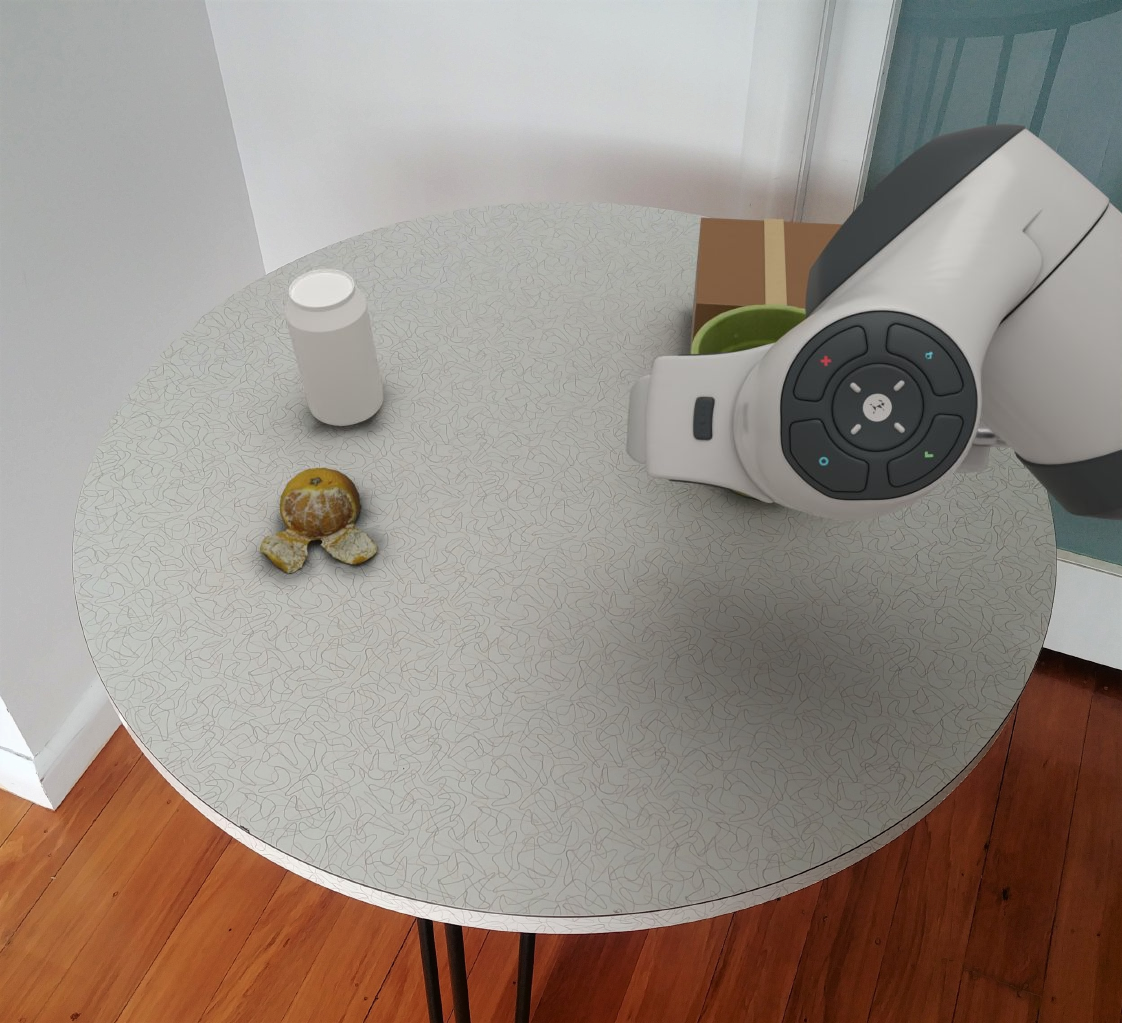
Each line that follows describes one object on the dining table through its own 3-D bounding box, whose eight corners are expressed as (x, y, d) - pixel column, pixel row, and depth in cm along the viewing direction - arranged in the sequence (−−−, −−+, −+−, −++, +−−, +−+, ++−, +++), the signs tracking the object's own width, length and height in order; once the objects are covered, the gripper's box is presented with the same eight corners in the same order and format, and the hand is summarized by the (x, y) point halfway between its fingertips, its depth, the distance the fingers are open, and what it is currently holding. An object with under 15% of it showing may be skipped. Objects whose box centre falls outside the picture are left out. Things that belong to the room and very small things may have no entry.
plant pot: (797, 404, 87) (820, 291, 79) (860, 506, 79) (892, 392, 71) (661, 430, 85) (669, 317, 77) (710, 537, 78) (725, 423, 69)
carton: (834, 412, 87) (857, 311, 79) (686, 402, 88) (696, 301, 80) (827, 322, 95) (847, 222, 87) (692, 314, 96) (701, 215, 88)
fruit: (261, 574, 76) (249, 541, 73) (271, 491, 82) (261, 457, 79) (377, 565, 76) (370, 531, 74) (379, 482, 82) (372, 448, 79)
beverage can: (394, 420, 87) (373, 299, 78) (321, 441, 85) (290, 320, 76) (373, 375, 91) (350, 255, 82) (302, 395, 89) (271, 275, 80)
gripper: (1035, 374, 53) (960, 395, 66) (624, 354, 55) (634, 377, 69) (1025, 501, 53) (952, 495, 67) (617, 475, 55) (628, 475, 69)
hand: (788, 435), depth 68 cm, fingers closed
